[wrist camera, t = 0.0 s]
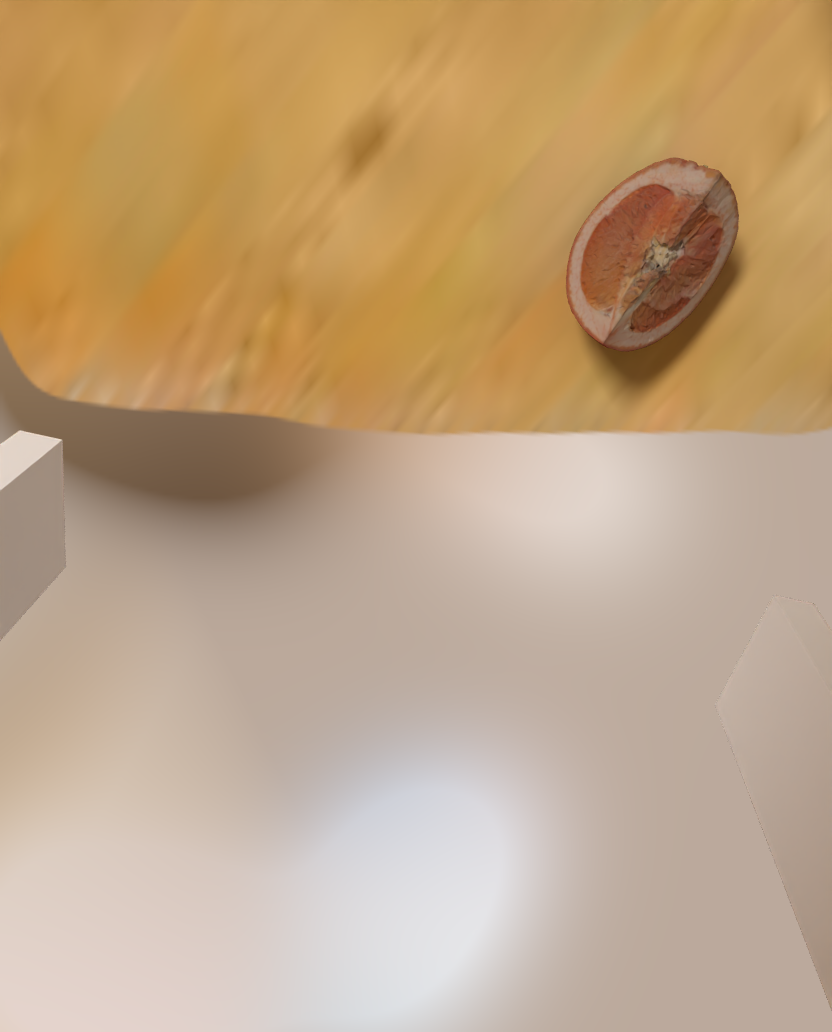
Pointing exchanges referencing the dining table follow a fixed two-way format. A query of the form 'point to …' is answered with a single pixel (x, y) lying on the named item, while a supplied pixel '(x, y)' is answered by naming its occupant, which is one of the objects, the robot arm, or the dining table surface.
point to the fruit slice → (651, 253)
